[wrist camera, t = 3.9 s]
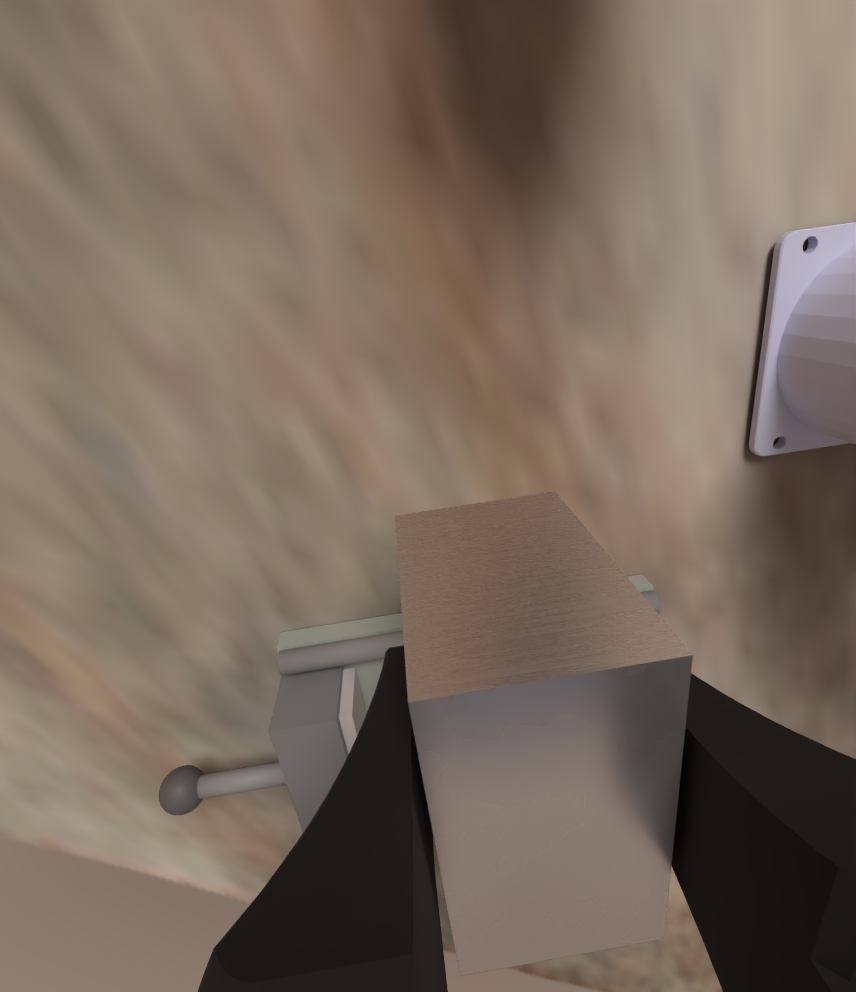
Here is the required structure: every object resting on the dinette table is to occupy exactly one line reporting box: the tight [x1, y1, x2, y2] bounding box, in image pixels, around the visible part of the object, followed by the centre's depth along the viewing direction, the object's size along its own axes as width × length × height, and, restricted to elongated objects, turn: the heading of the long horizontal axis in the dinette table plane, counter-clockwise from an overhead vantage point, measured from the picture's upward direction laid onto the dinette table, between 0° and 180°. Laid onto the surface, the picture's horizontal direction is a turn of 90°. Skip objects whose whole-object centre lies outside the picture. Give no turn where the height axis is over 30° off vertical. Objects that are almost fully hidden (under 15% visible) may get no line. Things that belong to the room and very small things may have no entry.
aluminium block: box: [395, 491, 693, 976], centre depth 11 cm, size 4×7×6 cm, turn 8°
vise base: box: [159, 574, 660, 833], centre depth 22 cm, size 22×10×4 cm, turn 98°
